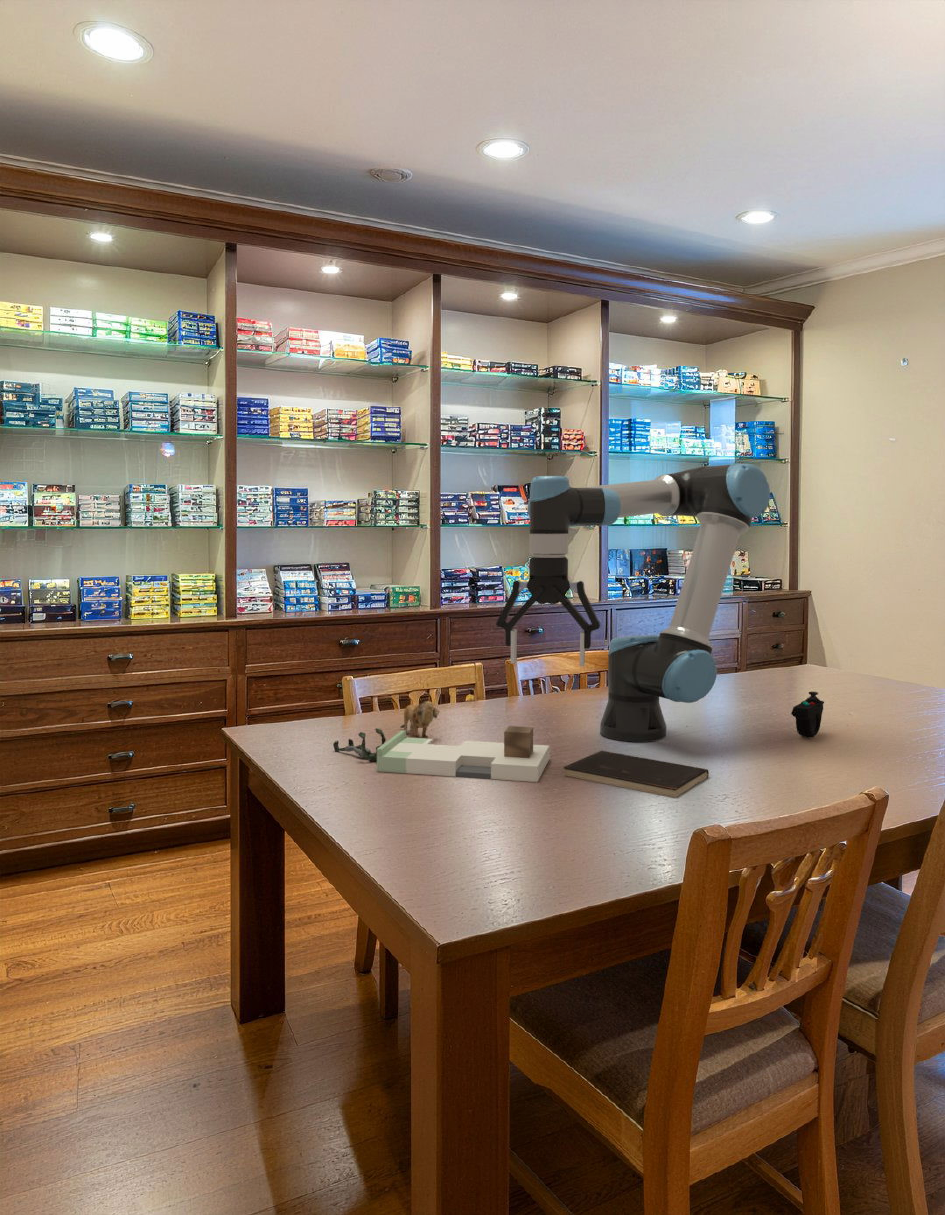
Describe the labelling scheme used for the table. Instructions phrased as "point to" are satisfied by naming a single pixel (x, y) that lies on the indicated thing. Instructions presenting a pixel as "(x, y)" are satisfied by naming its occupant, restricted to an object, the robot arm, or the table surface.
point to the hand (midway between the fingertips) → (547, 664)
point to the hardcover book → (636, 773)
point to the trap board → (459, 759)
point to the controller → (808, 715)
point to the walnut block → (518, 742)
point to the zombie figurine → (361, 747)
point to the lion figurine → (419, 717)
